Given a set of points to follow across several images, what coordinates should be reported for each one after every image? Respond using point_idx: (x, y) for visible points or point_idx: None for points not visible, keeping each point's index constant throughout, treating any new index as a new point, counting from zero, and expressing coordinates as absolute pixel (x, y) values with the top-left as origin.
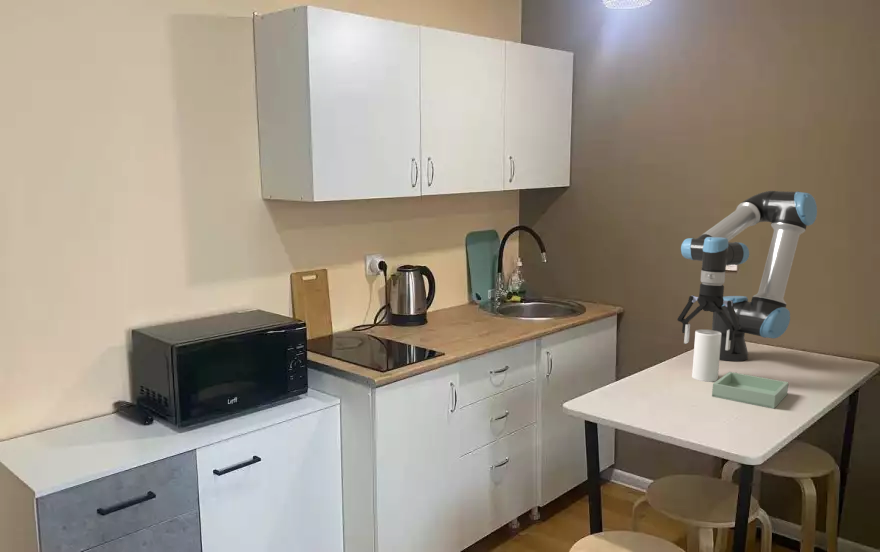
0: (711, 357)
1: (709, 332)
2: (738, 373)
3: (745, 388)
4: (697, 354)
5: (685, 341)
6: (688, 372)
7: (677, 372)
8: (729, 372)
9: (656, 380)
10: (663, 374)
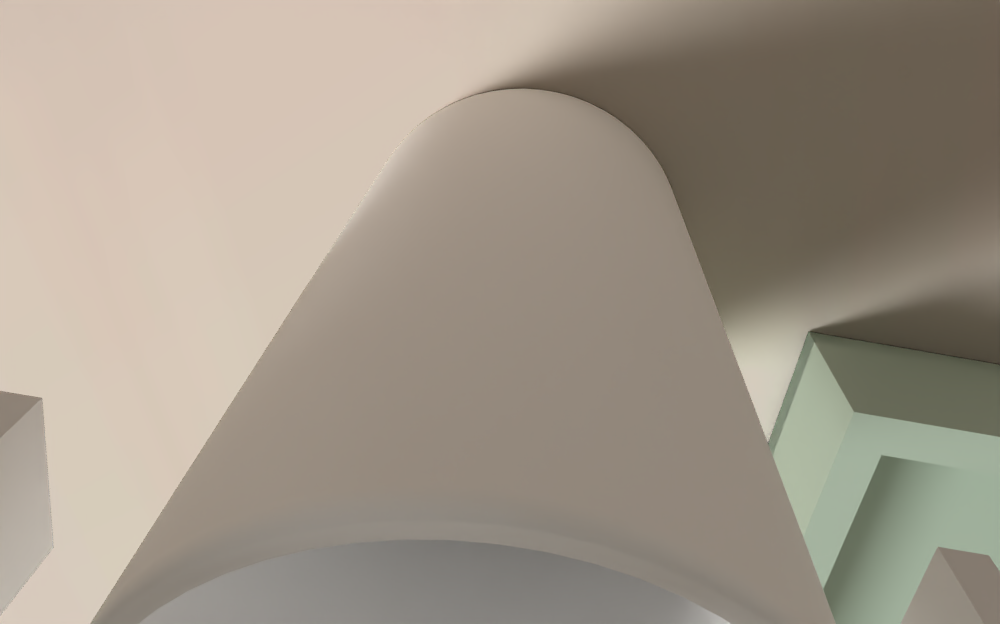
0: (606, 581)
1: (446, 472)
2: (977, 439)
3: (987, 509)
4: (371, 569)
5: (9, 576)
6: (277, 67)
7: (159, 149)
8: (852, 450)
9: (103, 564)
10: (62, 328)
